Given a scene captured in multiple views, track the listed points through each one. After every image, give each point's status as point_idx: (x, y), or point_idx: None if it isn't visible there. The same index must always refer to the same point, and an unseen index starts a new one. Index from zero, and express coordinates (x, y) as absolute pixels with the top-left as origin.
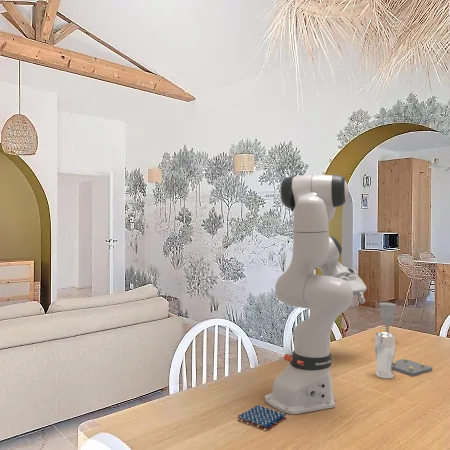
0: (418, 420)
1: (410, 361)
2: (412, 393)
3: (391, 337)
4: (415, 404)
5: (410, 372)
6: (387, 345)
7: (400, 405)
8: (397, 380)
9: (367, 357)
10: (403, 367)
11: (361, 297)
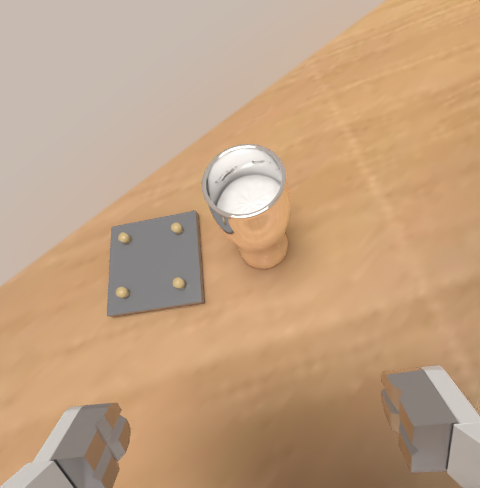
0: (379, 49)
1: (115, 286)
2: (288, 138)
3: (245, 146)
4: (328, 97)
5: (195, 217)
6: (268, 167)
7: (365, 100)
8: None
9: (177, 413)
10: (178, 254)
11: (46, 484)
